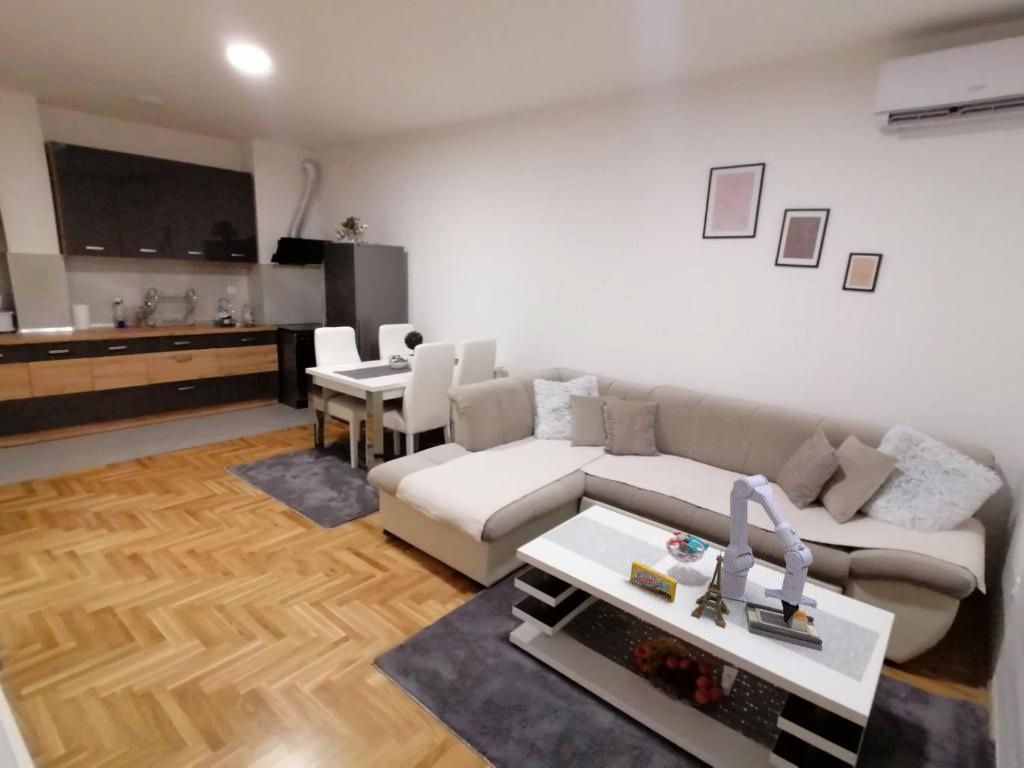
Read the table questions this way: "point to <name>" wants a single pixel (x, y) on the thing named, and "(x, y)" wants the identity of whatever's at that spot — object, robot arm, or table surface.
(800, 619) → the orange-faced white block
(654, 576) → the candy box
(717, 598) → the eiffel tower
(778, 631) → the panel
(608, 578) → the table surface
